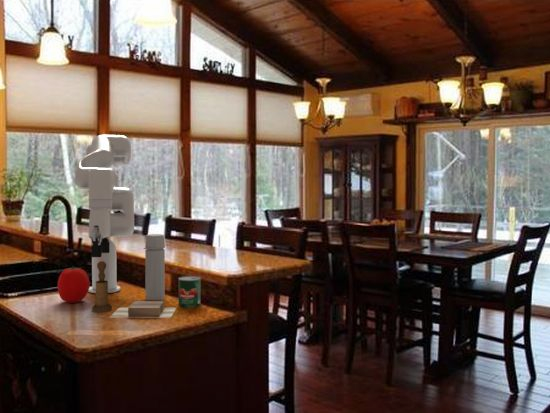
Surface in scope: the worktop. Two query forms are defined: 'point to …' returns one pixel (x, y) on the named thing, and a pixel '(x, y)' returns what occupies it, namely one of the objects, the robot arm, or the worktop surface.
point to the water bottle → (155, 267)
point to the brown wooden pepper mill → (101, 291)
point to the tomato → (73, 285)
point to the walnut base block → (146, 309)
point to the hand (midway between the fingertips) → (100, 254)
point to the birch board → (123, 313)
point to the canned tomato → (189, 291)
